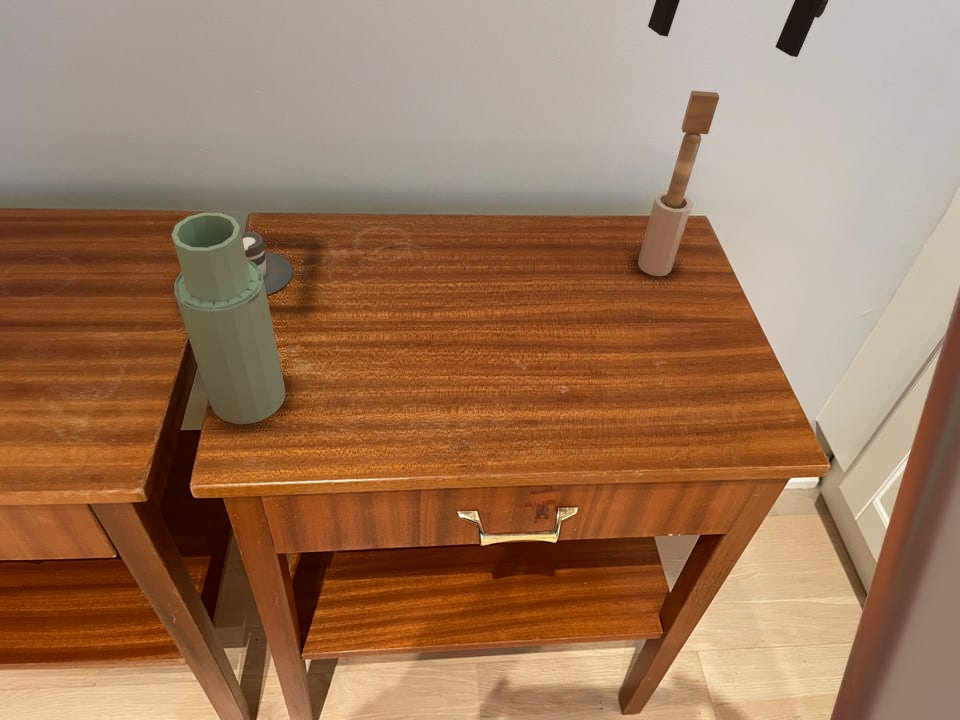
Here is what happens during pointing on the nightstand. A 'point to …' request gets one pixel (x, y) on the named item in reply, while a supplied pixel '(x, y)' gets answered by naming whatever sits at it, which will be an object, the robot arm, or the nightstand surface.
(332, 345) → the nightstand surface
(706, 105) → the wooden stick
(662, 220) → the holder
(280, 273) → the coffee cup
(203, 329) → the bottle
